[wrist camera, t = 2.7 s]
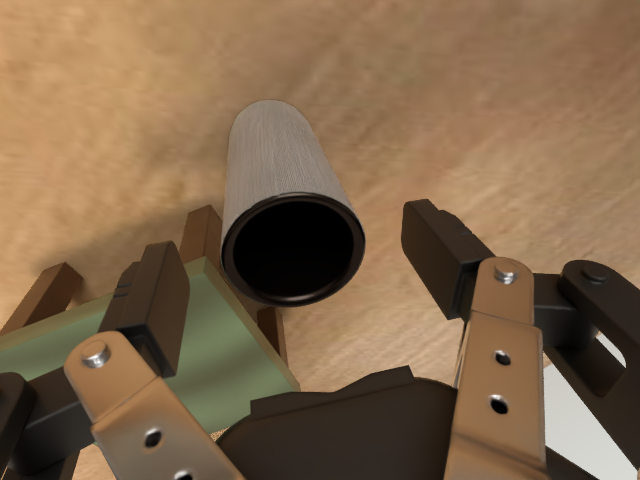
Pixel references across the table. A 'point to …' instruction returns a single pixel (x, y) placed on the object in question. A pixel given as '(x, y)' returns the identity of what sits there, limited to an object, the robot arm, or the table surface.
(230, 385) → the plant stand
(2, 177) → the table surface
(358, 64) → the table surface
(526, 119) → the table surface
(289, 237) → the grey hollow tube
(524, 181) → the table surface
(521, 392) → the robot arm
